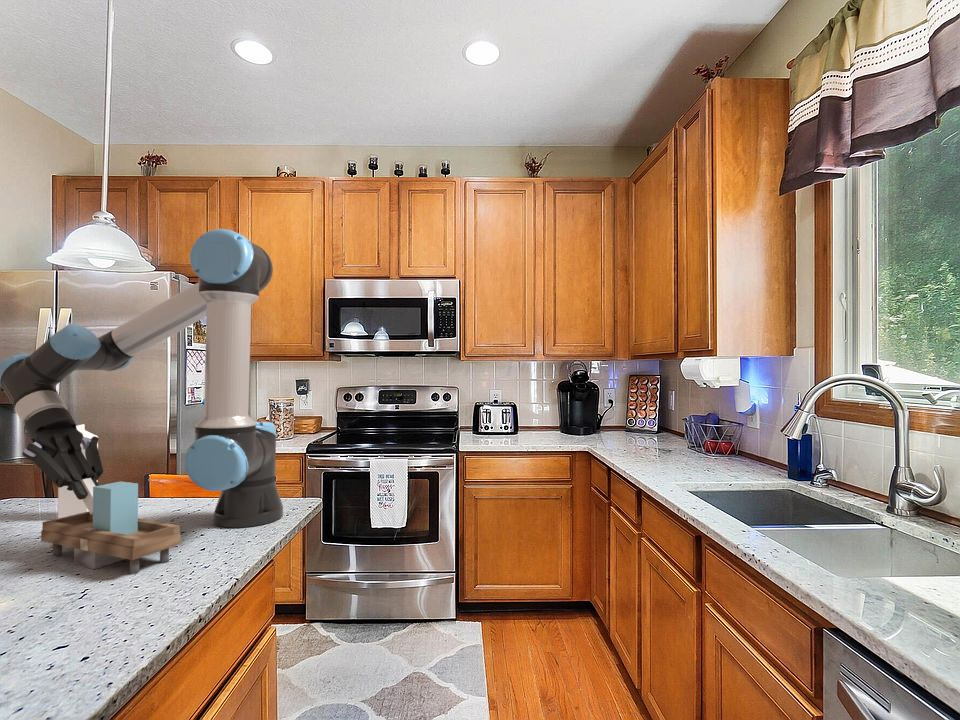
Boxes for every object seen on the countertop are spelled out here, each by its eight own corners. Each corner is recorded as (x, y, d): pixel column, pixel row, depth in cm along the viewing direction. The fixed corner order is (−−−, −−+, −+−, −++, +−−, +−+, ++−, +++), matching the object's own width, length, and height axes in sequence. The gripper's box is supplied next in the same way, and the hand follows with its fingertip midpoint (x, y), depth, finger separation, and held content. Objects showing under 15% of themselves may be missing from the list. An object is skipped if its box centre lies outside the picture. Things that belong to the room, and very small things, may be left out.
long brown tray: (40, 557, 100) (40, 522, 100) (92, 542, 108) (92, 510, 108) (131, 578, 90) (132, 539, 90) (180, 559, 98) (181, 524, 98)
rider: (92, 535, 97) (93, 486, 97) (120, 528, 101) (120, 481, 101) (110, 539, 95) (110, 489, 95) (137, 531, 99) (138, 483, 99)
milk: (57, 520, 124) (57, 427, 124) (69, 513, 130) (69, 424, 130) (87, 518, 126) (87, 426, 126) (98, 511, 131) (98, 423, 132)
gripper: (73, 427, 114) (123, 513, 107) (-1, 434, 102) (50, 531, 95) (89, 403, 112) (141, 489, 105) (16, 407, 100) (69, 504, 93)
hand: (98, 509), depth 100 cm, fingers closed
